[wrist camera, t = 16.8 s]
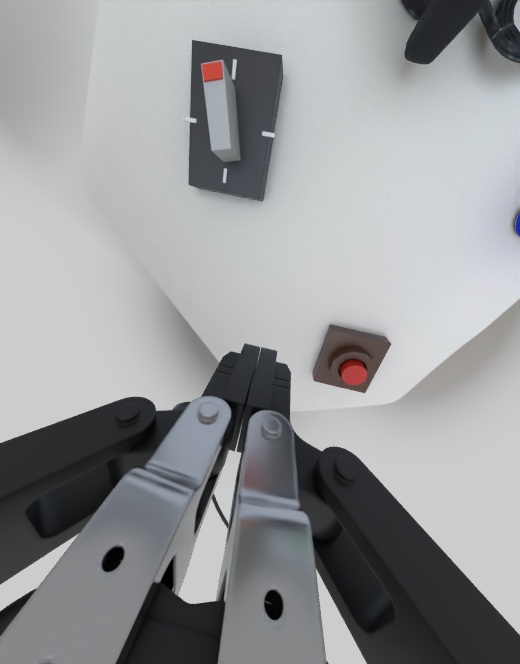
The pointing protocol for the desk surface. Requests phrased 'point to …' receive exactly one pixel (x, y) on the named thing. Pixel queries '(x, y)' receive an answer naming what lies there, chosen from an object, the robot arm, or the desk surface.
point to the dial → (221, 111)
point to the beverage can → (517, 224)
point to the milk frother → (459, 26)
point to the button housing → (349, 356)
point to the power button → (353, 372)
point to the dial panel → (253, 120)
